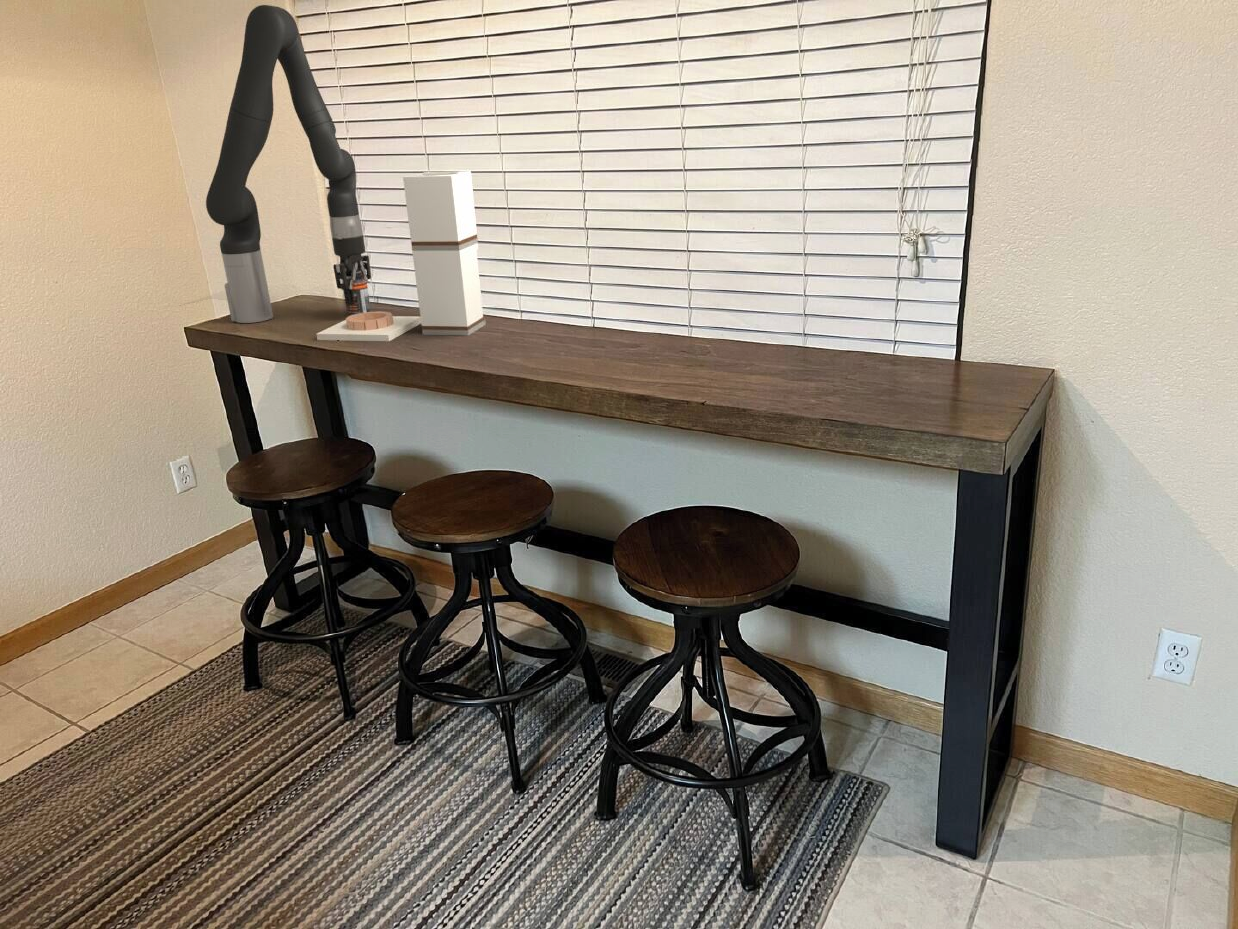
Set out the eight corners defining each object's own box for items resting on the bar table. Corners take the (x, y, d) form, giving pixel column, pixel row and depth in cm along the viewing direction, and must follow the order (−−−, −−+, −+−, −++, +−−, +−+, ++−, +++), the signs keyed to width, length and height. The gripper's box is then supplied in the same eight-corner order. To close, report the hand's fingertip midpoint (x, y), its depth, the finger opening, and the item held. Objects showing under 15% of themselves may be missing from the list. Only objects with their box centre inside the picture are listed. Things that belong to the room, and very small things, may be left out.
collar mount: (317, 340, 211) (314, 325, 210) (355, 321, 227) (353, 307, 226) (388, 341, 207) (386, 326, 206) (422, 322, 223) (420, 308, 222)
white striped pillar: (485, 324, 219) (470, 171, 206) (468, 335, 209) (451, 175, 196) (441, 323, 222) (424, 172, 208) (422, 334, 212) (402, 176, 199)
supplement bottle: (342, 318, 231) (335, 273, 227) (355, 313, 237) (348, 269, 232) (363, 319, 230) (356, 273, 225) (376, 313, 235) (369, 269, 231)
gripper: (347, 230, 233) (357, 295, 239) (318, 239, 220) (329, 307, 226) (374, 229, 231) (384, 295, 237) (346, 238, 218) (357, 307, 224)
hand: (357, 301), depth 232 cm, fingers open, 7 cm apart
